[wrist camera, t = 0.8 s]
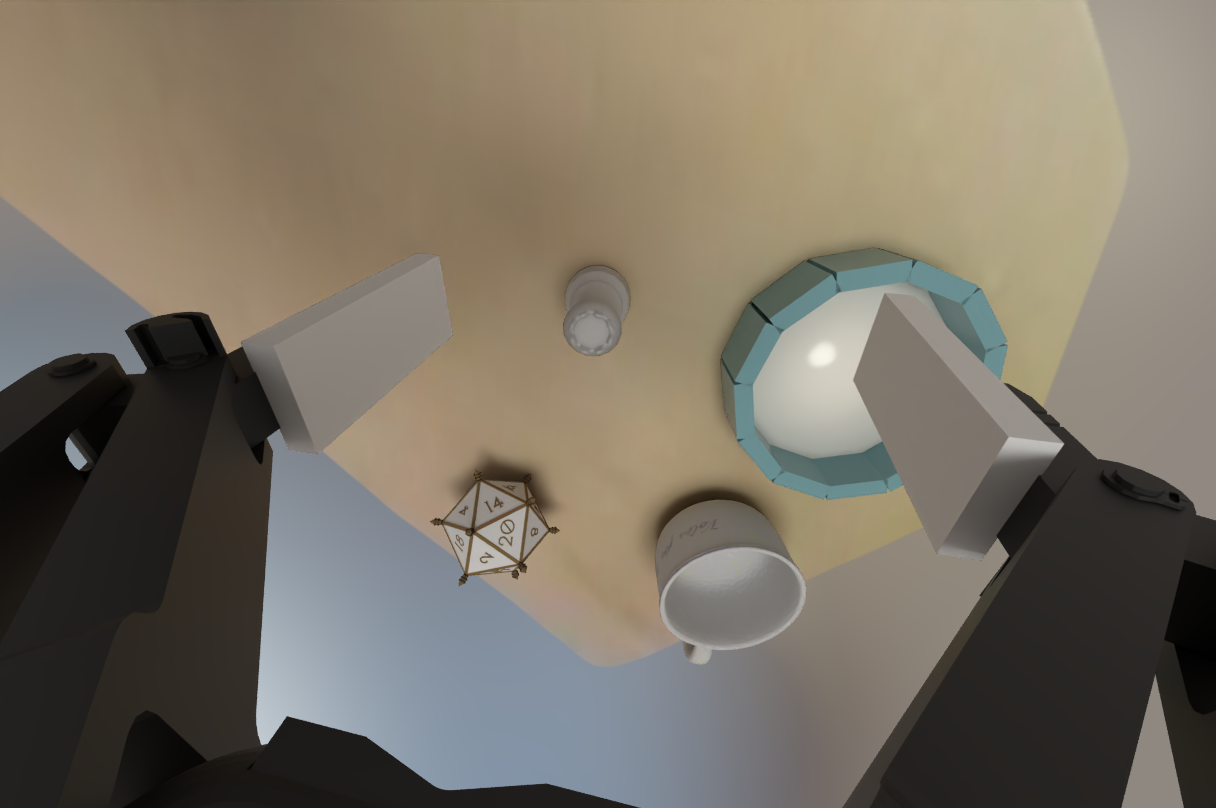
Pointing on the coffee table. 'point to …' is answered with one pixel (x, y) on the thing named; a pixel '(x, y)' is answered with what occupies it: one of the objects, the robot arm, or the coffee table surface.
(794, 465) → the dish
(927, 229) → the coffee table surface
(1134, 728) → the robot arm
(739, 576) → the teacup
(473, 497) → the game die
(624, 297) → the rook chess piece
